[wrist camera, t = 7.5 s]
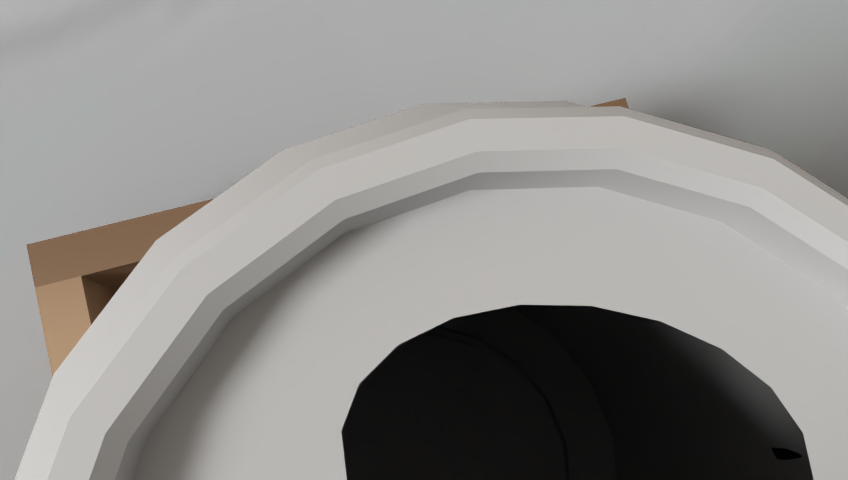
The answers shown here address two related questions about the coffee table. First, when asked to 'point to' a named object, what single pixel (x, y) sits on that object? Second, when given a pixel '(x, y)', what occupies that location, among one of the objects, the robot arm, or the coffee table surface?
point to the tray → (98, 270)
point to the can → (476, 313)
